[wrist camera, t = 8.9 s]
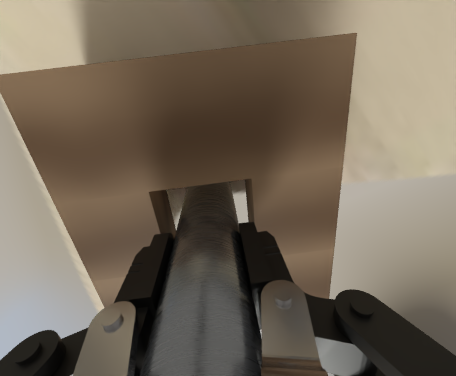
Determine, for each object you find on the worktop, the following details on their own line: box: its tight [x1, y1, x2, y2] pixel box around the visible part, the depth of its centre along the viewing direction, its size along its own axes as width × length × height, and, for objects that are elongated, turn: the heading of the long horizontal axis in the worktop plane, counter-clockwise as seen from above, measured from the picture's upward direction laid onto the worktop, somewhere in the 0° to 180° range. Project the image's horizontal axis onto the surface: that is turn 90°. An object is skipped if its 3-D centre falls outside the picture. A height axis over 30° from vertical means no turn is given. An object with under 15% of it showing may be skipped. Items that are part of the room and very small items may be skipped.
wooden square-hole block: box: [0, 33, 357, 307], centre depth 15 cm, size 16×14×7 cm
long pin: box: [140, 182, 262, 376], centre depth 9 cm, size 3×3×15 cm
